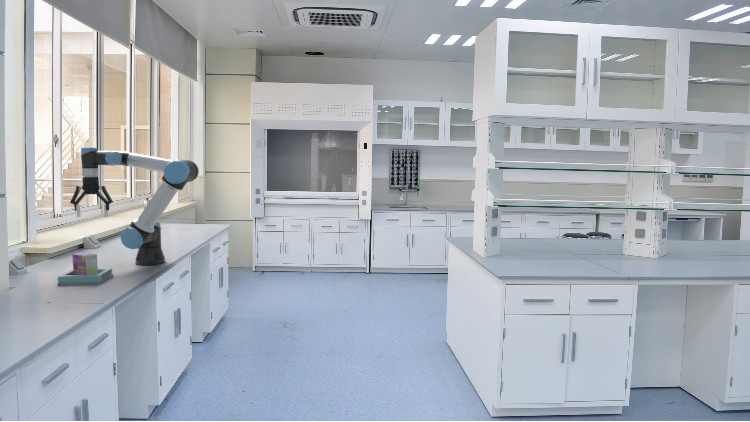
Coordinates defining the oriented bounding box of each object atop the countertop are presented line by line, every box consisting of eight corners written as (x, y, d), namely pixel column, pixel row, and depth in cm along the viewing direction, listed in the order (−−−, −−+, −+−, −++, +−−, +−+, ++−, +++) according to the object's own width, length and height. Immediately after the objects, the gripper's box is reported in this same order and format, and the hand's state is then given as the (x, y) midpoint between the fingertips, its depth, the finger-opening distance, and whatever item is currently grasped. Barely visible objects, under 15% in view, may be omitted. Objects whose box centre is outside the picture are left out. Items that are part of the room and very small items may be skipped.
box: (73, 278, 248) (71, 253, 247) (84, 276, 253) (83, 251, 252) (87, 280, 243) (85, 255, 242) (98, 278, 248) (97, 253, 247)
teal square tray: (113, 275, 258) (112, 267, 258) (99, 284, 240) (98, 275, 240) (73, 276, 255) (73, 268, 255) (57, 285, 238) (56, 277, 237)
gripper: (118, 176, 280) (119, 215, 282) (68, 176, 276) (70, 216, 279) (113, 176, 273) (115, 217, 275) (61, 176, 269) (64, 217, 271)
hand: (92, 216), depth 277 cm, fingers open, 13 cm apart
